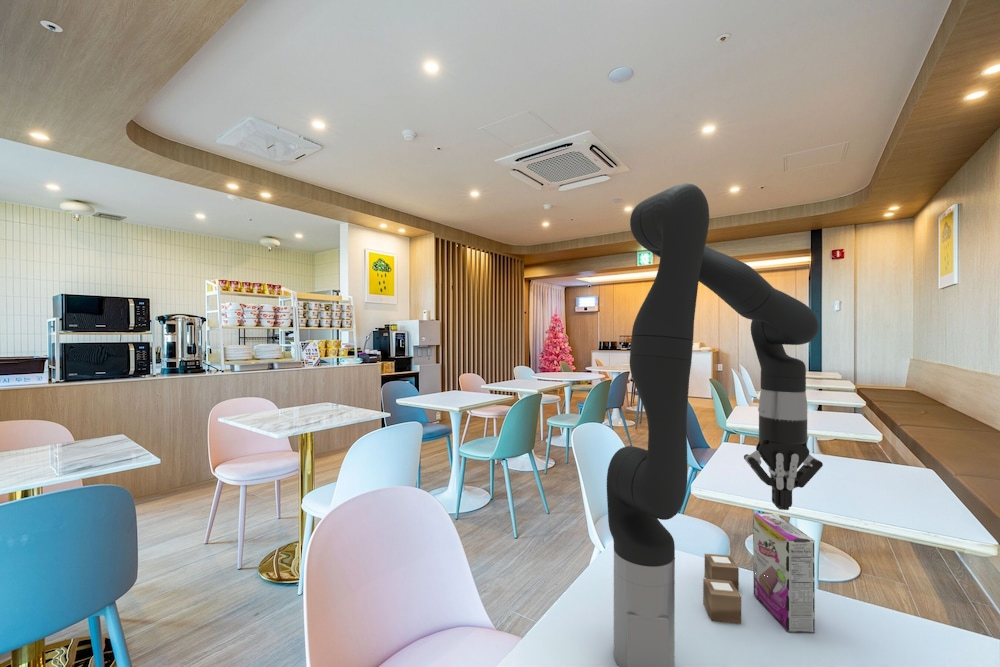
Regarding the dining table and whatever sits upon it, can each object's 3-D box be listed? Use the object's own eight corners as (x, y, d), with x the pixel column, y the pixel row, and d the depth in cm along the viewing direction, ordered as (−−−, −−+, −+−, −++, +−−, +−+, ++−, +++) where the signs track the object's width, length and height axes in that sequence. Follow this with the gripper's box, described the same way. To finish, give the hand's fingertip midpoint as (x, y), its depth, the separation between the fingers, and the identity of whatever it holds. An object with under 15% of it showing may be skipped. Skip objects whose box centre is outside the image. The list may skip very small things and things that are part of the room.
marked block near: (741, 624, 78) (741, 595, 78) (711, 621, 79) (711, 593, 79) (731, 607, 83) (731, 579, 83) (703, 604, 84) (703, 577, 84)
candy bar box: (751, 594, 87) (751, 512, 86) (776, 595, 86) (777, 512, 86) (787, 634, 75) (787, 539, 75) (816, 634, 75) (816, 539, 75)
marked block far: (738, 593, 87) (738, 567, 87) (711, 590, 88) (711, 565, 88) (729, 579, 92) (729, 554, 92) (704, 576, 93) (704, 552, 93)
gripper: (751, 417, 78) (751, 514, 78) (834, 419, 76) (833, 519, 76) (736, 409, 85) (736, 498, 86) (811, 412, 83) (810, 502, 83)
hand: (782, 508), depth 81 cm, fingers closed
